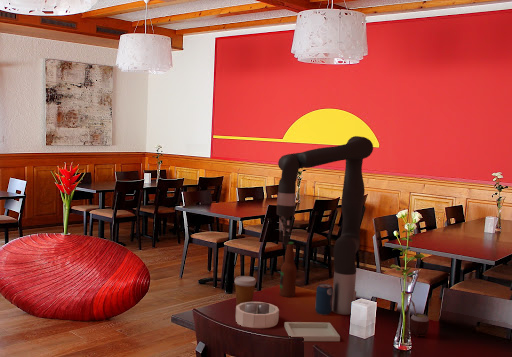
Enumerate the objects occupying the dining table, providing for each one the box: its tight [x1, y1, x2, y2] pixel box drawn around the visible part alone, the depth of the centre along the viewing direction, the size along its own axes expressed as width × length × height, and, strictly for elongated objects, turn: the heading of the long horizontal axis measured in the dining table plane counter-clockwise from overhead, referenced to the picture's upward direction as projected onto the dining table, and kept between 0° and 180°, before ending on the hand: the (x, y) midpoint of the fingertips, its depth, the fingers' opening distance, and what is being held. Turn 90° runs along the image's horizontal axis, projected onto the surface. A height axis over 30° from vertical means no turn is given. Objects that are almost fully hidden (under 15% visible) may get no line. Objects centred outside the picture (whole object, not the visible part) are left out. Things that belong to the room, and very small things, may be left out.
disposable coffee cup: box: [234, 275, 257, 306], centre depth 246 cm, size 10×10×12 cm
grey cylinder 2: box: [257, 302, 270, 314], centre depth 227 cm, size 5×5×6 cm
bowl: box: [235, 301, 280, 329], centre depth 227 cm, size 17×17×6 cm
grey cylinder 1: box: [245, 303, 257, 314], centre depth 227 cm, size 5×5×6 cm
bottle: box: [279, 241, 297, 298], centre depth 265 cm, size 7×7×25 cm
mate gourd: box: [409, 299, 430, 336], centre depth 221 cm, size 8×8×15 cm
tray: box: [283, 321, 341, 342], centre depth 216 cm, size 18×15×2 cm
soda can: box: [314, 282, 333, 316], centre depth 243 cm, size 7×7×12 cm
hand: (283, 242), depth 236 cm, fingers open, 8 cm apart
